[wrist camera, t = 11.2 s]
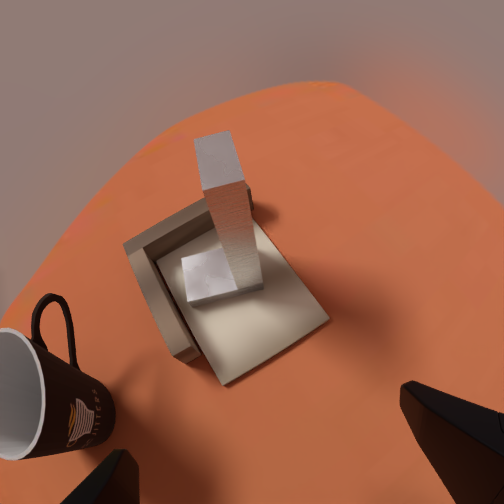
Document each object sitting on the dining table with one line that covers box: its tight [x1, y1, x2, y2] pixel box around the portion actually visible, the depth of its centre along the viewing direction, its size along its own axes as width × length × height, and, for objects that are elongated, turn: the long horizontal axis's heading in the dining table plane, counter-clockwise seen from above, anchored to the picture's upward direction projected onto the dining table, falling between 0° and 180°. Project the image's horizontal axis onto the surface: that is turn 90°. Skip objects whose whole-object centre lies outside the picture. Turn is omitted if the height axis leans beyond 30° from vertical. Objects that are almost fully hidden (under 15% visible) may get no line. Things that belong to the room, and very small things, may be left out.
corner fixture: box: [123, 184, 330, 386], centre depth 24 cm, size 14×12×3 cm
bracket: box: [181, 130, 264, 307], centre depth 20 cm, size 4×6×12 cm, turn 103°
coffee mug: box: [0, 293, 116, 460], centre depth 17 cm, size 12×9×10 cm
